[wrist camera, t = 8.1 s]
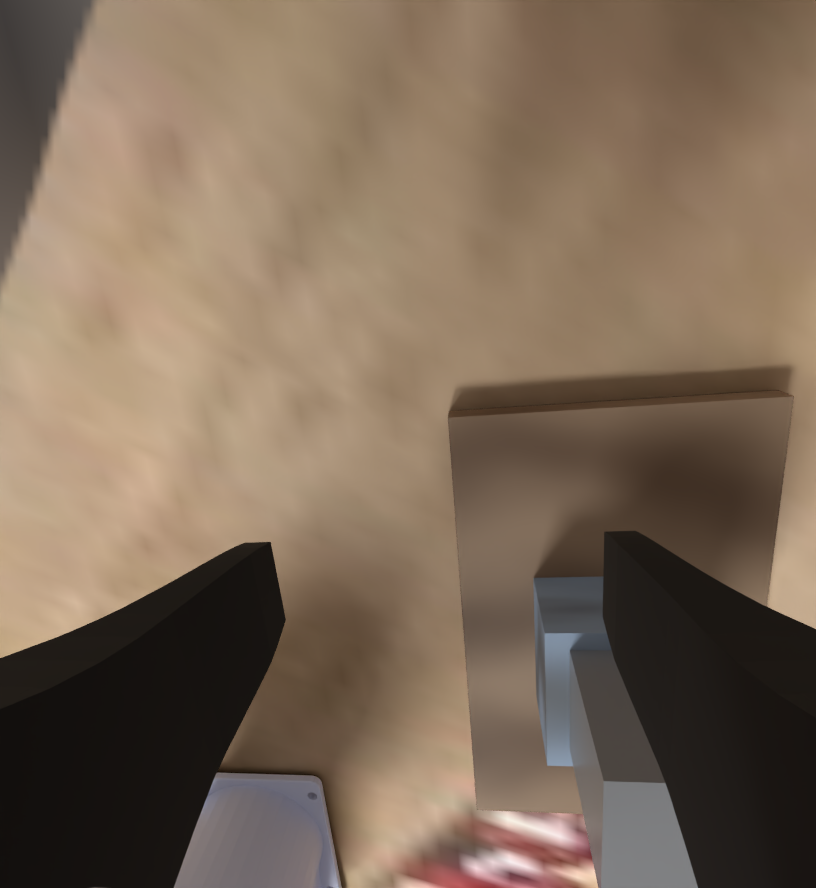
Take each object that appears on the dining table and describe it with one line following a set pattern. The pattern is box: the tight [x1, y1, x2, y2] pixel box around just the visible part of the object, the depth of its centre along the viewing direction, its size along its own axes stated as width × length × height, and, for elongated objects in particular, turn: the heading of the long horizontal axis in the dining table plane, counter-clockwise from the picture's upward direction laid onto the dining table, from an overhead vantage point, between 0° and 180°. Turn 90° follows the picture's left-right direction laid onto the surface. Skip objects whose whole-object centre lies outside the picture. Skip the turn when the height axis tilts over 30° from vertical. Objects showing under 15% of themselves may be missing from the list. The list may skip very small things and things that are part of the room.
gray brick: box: [570, 650, 698, 888], centre depth 16 cm, size 4×4×5 cm
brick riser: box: [448, 390, 794, 814], centre depth 21 cm, size 20×12×4 cm, turn 5°
